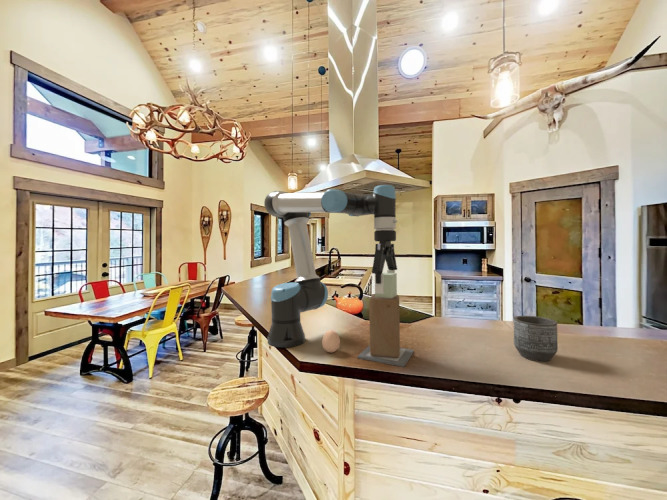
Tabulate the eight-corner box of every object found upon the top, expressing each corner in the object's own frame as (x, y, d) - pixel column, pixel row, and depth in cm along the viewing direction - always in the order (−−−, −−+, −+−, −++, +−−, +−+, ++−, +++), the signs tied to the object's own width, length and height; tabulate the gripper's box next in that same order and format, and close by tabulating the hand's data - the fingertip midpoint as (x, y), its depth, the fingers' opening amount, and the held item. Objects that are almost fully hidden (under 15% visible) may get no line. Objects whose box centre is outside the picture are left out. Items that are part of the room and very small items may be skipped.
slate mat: (357, 358, 97) (357, 355, 97) (371, 345, 110) (371, 342, 110) (403, 367, 90) (403, 364, 90) (413, 352, 102) (413, 349, 102)
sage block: (375, 297, 98) (374, 274, 98) (380, 294, 103) (380, 272, 103) (391, 298, 95) (391, 274, 95) (396, 295, 100) (396, 273, 100)
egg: (327, 347, 108) (327, 327, 108) (343, 350, 105) (342, 329, 105) (318, 353, 102) (318, 332, 102) (335, 356, 99) (335, 334, 99)
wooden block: (399, 359, 94) (399, 299, 93) (369, 356, 96) (369, 298, 96) (399, 348, 103) (399, 294, 103) (372, 346, 106) (371, 293, 105)
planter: (567, 362, 91) (567, 323, 91) (535, 365, 89) (534, 325, 89) (534, 349, 103) (534, 314, 103) (505, 351, 101) (505, 316, 101)
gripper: (384, 227, 86) (385, 297, 86) (404, 231, 108) (405, 286, 108) (361, 228, 90) (362, 295, 90) (385, 231, 112) (386, 285, 112)
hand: (385, 290), depth 99 cm, fingers open, 13 cm apart
